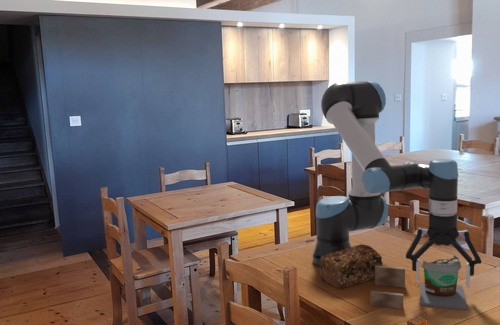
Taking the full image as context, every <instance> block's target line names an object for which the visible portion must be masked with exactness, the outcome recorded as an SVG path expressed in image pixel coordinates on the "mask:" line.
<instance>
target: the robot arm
mask: <svg viewBox="0 0 500 325" xmlns="http://www.w3.org/2000/svg"><path fill="white" fill-rule="evenodd" d="M386 98H387V97H386V94H385V90H384V89H383V87H382V86H381V85H380V84H379V83H378V82H376V81H371V80H363V81H361V80H359V81H340V82H339V81H338V82H335V83H333V84H331V85H330V86H329V87H327V88H326V89H325V91H324V93H323V94H322V97H321V102H320V107H321V112H322V114H323V116H324V118H325V119H326V121H327V122H328V123H329V124H331V125H333V127H334V128H335V130H336V131H337V133H338V134H339V135H340V137H341V139H342V140H343V142H344V143H345V145H346V146H347V148H348V150H349V151H350V153H351V182H352V189H351V190H350V191H349V192H348V196H344V195H336V196H335V195H333V196H328V197H324V198H321V199H320V200H319V201H318V202H317V203H316V206H315V222H316V223H315V225H316V226H315V227H316V243H315V246H314V249H313V253H312V263H313V264H314V265H316V266H318V267H320V259H321V258H322V257H323V256H324V255H326V254H329V253H333V252H336V251H339V250H342V249H346V248H350V247H352V245H351V242H350V232H356V231H361V230H366V229H367V230H368V229H370V230H371V229H375V228H378V227H381V226H382V225H383V224H384V223H385V222H386V221H387V219H388V215H389V214H388V213H389V206H388V203H387V200H386V199H385V197H384V196H382V195H381V194H385V193H389V192H395V191H404V190H405V191H406V190H411V189H422V190H423V189H424V190H426V191H428V194H429V195H428V211H429V214H428V228H422V227H417V233H416V235H415V237H414V239H412V242H411V244H410V245H409V248H408V249H407V251H406V252H405V259H407V260H411V263H412V264H411V267H412V268H411V270H412V272H415V274H416V276H415V278H416V280H415V283H417V284H419V283H420V259H419V258H421V256H422V255H424V253H425V252H426V251H428V250H429V249H430V247H432V246H433V245H434V244H435V245H437V246H446V247H449V246H450V245H451V246H453V247H454V248H455V249H456V250H457V251H458V253H459V254H460V255H461V256H462V257H463V258H464V259H465V261H466V262H465V263H466V264H465V285H466V288H470V281H471V280H470V278H471V276H472V277H473V276H474V275H475V266H476V265H478V264H479V265H480V264H482V259H481V257H480V255H479V253H478V251H477V249H476V248H475V245H474V244H473V242H472V240H471V238H470V233H469V229H466V228H465V229H464V230H458V215H457V212H458V183H459V182H458V180H459V172H458V170H459V169H458V163H457V161H455V160H454V159H450V158H447V159H446V158H436V159H435V158H434V159H431V160H429V163H423V162H419V161H406V162H404V163H403V164H397V165H390V163H389V162H388V160H387V159H386V158H385V157H384V156H385V155H383V153H382V152H381V150H380V149H379V147H377V145H376V122H377V121H378V120H379V119H380V114H381V113H382V112H383V111H384V110H385V107H386V104H387V102H386V101H387V100H386ZM425 235H427V236H428V237H429V238H428V239H427V240H426V241H425V242H424V244H422V245H421V247H420V248H419V249H418V250H417V251H415V250H416V248H417V246H418V244H419V242H420V241H421V239H422V237H425ZM459 236H460V237H461V238H462V239H464V240H465V243H466V245H467V246H468V249H469V250H470V252H471V254H472V256H473V257H472V256H471V255H469V253H468V252H467V251H466V250H465V249H464V247H463V246H461V244H460V243H459V242H458V241H457V238H458V237H459ZM414 251H415V253H414Z"/></svg>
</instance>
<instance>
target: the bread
mask: <svg viewBox="0 0 500 325" xmlns="http://www.w3.org/2000/svg"><path fill="white" fill-rule="evenodd" d="M382 259H383V258H382V256H381V254H380V253H378V251H377V250H375V249H374V248H373V247H372V246H370V245H367V244H357V245H353V246H351V247H350V248H346V249H342V250H339V251H336V252H333V253H329V254H326V255H324V256H323V257H322V258H321V259H320V266H319V273H320V278H321V280H322V281H324V282H325V283H326V284H329V285H331V286H332V287H334V288H336V289H338V290H341V289H344V288H347V287H350V286H351V287H352V286H354V285H358V284H362V283H365V282H367V281H368V282H369V281H372V280H375V265H376V266H383V264H384V263H383V261H382Z"/></svg>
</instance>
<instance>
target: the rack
mask: <svg viewBox="0 0 500 325" xmlns="http://www.w3.org/2000/svg"><path fill="white" fill-rule="evenodd" d="M374 282H375V283H374V285H375V286H381V287H382V286H385V287H392V288H393V287H396V288H405V289H406V267H398V266H387V265H382V266H376V265H375V279H374ZM369 306H370V307H381V308H389V309H397V310H398V309H399V310H404V293H397V292H389V291H388V292H386V291H377V290H370V292H369Z"/></svg>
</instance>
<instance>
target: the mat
mask: <svg viewBox="0 0 500 325" xmlns="http://www.w3.org/2000/svg"><path fill="white" fill-rule="evenodd" d="M419 289H420V292H419V293H420V295H419V296H420V297H419V298H420V299H419V300H420V303H419V304H420V306H422V307H423V306H424V307H432V306H433V307H435V308H443V309H444V308H445V309H454V310H461V311H462V310H463V311H464V310H465V311H467V310H468V308H467V302H466V296H465V292H464V287H463V285H458V284H457V287H456V293H455V294H454V295H453V296H448V297H441V296H434V295H431V294H428V293H426V291H425V281H424V282H422V281H420V288H419ZM433 307H432V308H433Z"/></svg>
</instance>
